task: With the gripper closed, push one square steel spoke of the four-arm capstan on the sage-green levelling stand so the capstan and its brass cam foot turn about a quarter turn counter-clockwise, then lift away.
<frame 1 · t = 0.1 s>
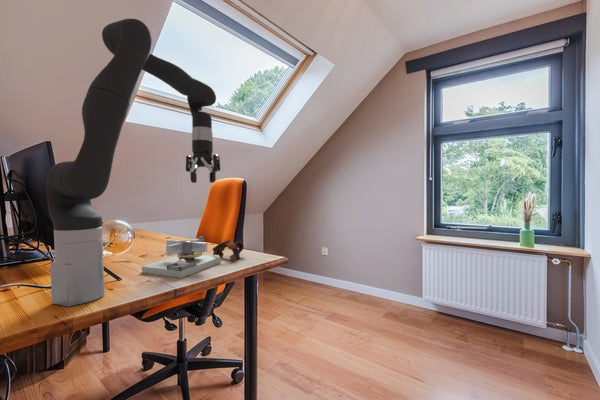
hand: (203, 182, 110), 29 cm above the table, tool pointing down, fingers open, 8 cm apart
stand: (183, 267, 97), on the table
capstan: (186, 250, 96), point 6 cm above the table, hinge at 0.0°
gnarled brown arch: (229, 259, 109), on the table
ball: (181, 263, 89), point 3 cm above the table, touching stand
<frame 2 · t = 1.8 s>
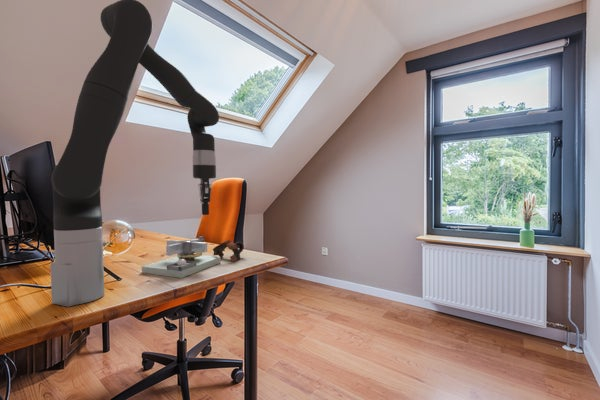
hand: (205, 214, 98), 18 cm above the table, tool pointing down, fingers closed
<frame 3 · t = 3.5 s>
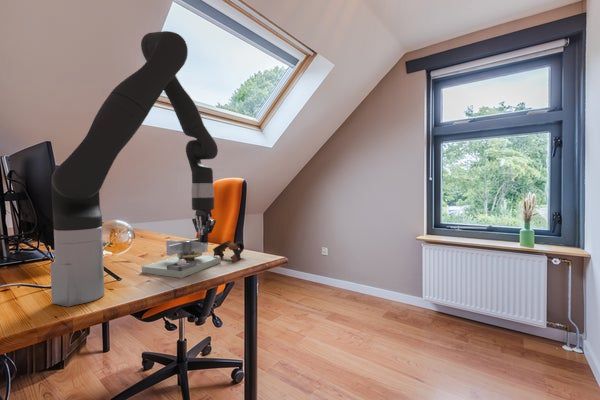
hand: (204, 245, 101), 7 cm above the table, tool pointing down, fingers closed
capstan: (186, 250, 96), point 6 cm above the table, hinge at 1.0°, touching gripper
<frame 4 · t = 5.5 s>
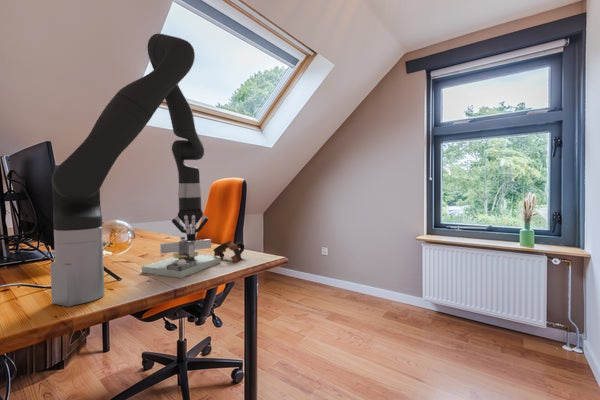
hand: (191, 243, 103), 7 cm above the table, tool pointing down, fingers closed
capstan: (186, 250, 96), point 6 cm above the table, hinge at 52.8°, touching gripper
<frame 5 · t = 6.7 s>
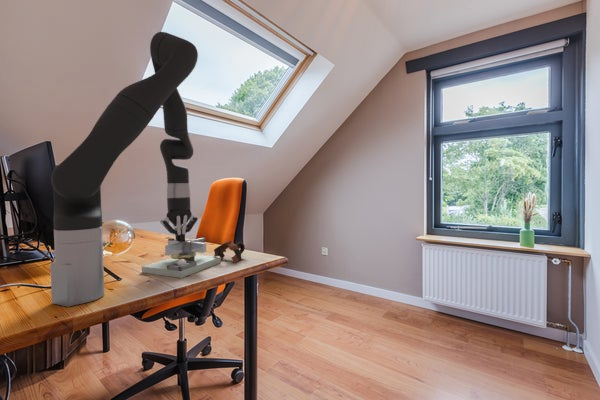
hand: (180, 244, 101), 7 cm above the table, tool pointing down, fingers closed
capstan: (186, 250, 96), point 6 cm above the table, hinge at 86.2°, touching gripper
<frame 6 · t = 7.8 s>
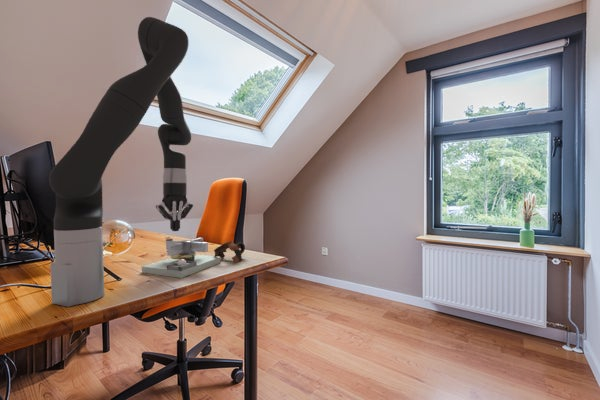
hand: (175, 230, 100), 12 cm above the table, tool pointing down, fingers closed
capstan: (186, 250, 96), point 6 cm above the table, hinge at 92.8°
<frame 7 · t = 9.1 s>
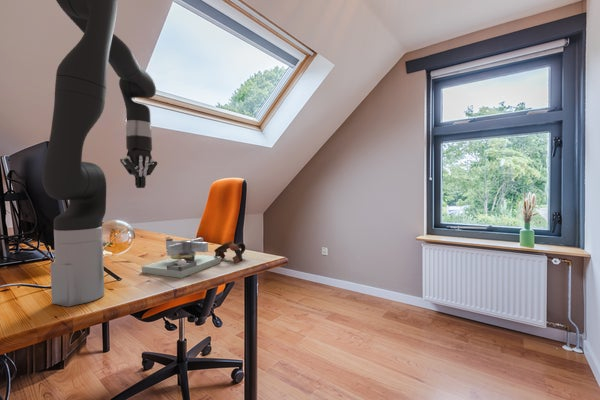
hand: (140, 187, 96), 27 cm above the table, tool pointing down, fingers closed
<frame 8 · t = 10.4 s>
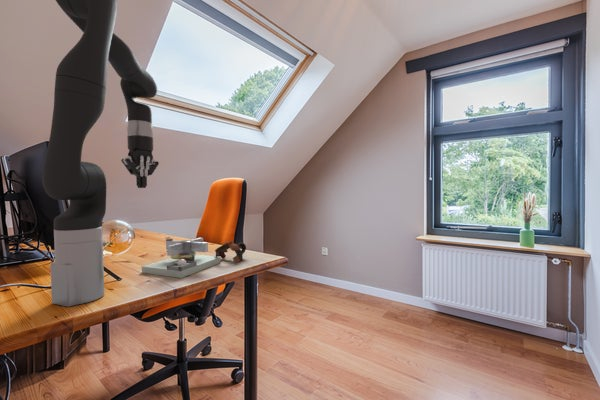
hand: (141, 187, 96), 27 cm above the table, tool pointing down, fingers closed
at the end: capstan at +93° (first picture: +0°); capstan touching nothing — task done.
